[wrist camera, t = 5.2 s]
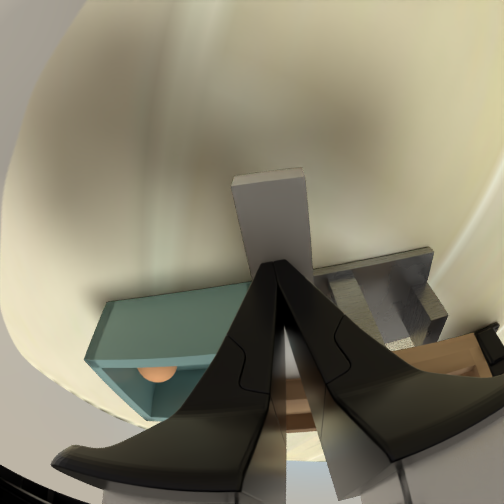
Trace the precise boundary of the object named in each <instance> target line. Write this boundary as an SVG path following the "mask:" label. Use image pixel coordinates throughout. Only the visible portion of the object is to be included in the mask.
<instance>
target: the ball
mask: <svg viewBox="0 0 504 504" xmlns="http://www.w3.org/2000/svg"><path fill="white" fill-rule="evenodd" d="M137 369H138V371H139V372H140V374H141V375H142V376H143V377H144V378H145V379H147V380H149V381H152V382H164V381H167V380H168V379H170V378H171V377H172V376H173V375H174V373H175V372H176V369H177V366H170V367H145V368H137Z"/></svg>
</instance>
